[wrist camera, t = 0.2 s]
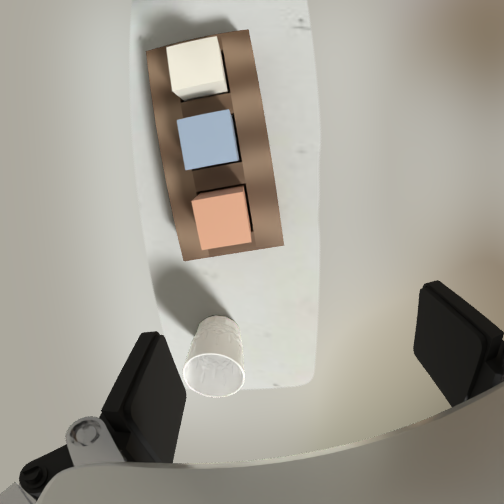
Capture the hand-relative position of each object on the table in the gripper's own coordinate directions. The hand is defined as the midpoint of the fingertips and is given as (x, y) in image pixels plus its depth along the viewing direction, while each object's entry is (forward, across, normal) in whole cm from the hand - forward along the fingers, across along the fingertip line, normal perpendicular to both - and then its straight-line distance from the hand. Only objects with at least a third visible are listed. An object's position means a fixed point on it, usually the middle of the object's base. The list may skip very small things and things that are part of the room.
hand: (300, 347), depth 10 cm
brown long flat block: (+30, +4, -9) cm, 31 cm away
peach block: (+26, +4, -1) cm, 26 cm away
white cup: (+31, +9, +18) cm, 37 cm away
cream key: (+25, +4, -17) cm, 31 cm away
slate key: (+26, +4, -9) cm, 28 cm away
